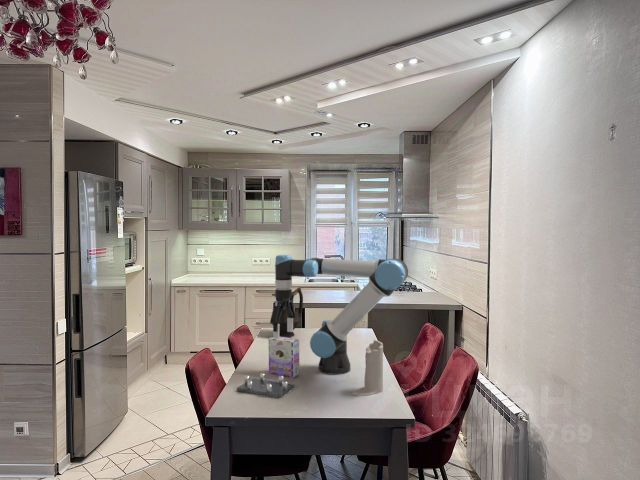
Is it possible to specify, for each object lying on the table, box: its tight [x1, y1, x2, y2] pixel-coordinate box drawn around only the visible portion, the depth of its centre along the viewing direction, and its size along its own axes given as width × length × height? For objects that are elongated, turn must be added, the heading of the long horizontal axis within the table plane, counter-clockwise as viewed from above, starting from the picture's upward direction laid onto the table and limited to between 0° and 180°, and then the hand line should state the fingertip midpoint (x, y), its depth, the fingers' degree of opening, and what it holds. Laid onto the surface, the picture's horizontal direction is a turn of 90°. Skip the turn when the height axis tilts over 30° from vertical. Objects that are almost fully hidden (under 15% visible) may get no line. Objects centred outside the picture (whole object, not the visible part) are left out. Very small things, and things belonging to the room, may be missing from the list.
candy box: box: [268, 336, 300, 379], centre depth 194 cm, size 14×6×16 cm, turn 58°
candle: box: [351, 339, 384, 397], centre depth 173 cm, size 7×14×20 cm, turn 119°
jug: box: [271, 286, 304, 338], centre depth 264 cm, size 21×18×30 cm
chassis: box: [236, 372, 295, 399], centre depth 175 cm, size 20×12×4 cm, turn 67°
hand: (283, 335), depth 194 cm, fingers open, 13 cm apart
